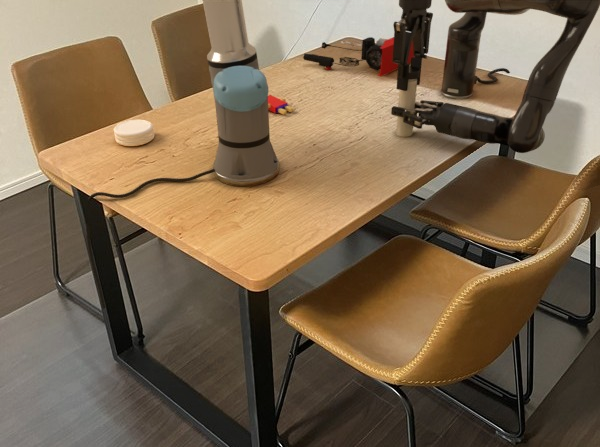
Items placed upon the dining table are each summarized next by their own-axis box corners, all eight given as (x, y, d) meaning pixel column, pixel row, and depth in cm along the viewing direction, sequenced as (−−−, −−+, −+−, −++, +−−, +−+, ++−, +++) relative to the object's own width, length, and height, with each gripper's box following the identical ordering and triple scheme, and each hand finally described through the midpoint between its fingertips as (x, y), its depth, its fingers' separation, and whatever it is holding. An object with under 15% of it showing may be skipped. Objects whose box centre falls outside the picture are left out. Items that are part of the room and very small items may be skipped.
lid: (402, 72, 157) (402, 65, 156) (421, 74, 155) (421, 67, 154) (396, 78, 153) (397, 71, 152) (416, 80, 152) (416, 73, 151)
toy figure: (297, 104, 175) (269, 91, 182) (279, 110, 172) (251, 97, 178) (297, 112, 177) (269, 99, 184) (279, 119, 173) (251, 105, 180)
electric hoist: (302, 34, 206) (381, 48, 191) (344, 20, 225) (419, 32, 210) (301, 64, 211) (379, 80, 196) (343, 48, 230) (416, 62, 215)
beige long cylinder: (393, 134, 162) (397, 73, 154) (401, 128, 165) (406, 69, 156) (407, 138, 160) (412, 76, 151) (415, 132, 163) (421, 72, 154)
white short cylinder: (127, 150, 156) (124, 137, 154) (108, 138, 162) (106, 125, 160) (161, 139, 161) (159, 126, 159) (142, 127, 168) (140, 115, 166)
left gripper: (423, -19, 151) (415, 74, 163) (380, -6, 140) (374, 92, 152) (450, -15, 147) (439, 80, 159) (408, -2, 136) (400, 100, 148)
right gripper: (472, 98, 155) (410, 85, 163) (448, 116, 145) (384, 102, 154) (468, 125, 159) (407, 111, 167) (445, 145, 149) (382, 130, 158)
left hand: (408, 86), depth 156 cm, fingers closed on lid, 5 cm apart
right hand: (396, 107), depth 160 cm, fingers closed on beige long cylinder, 4 cm apart
